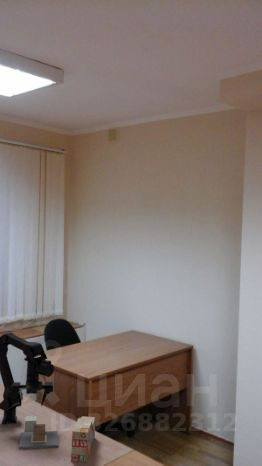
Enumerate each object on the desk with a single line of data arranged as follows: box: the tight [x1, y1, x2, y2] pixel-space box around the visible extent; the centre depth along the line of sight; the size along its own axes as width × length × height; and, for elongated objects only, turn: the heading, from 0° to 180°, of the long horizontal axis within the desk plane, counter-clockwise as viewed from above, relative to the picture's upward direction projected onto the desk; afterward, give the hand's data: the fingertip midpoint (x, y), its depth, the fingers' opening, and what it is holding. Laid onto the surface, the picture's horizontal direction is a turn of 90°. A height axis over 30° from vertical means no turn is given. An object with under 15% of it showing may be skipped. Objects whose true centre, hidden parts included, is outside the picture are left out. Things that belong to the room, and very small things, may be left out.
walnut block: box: [33, 423, 46, 441], centre depth 185 cm, size 5×5×5 cm
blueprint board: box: [18, 430, 59, 450], centre depth 185 cm, size 13×16×1 cm
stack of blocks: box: [70, 415, 96, 464], centre depth 180 cm, size 21×6×12 cm, turn 176°
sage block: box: [24, 415, 37, 432], centre depth 196 cm, size 5×5×5 cm
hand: (31, 406), depth 196 cm, fingers open, 9 cm apart
